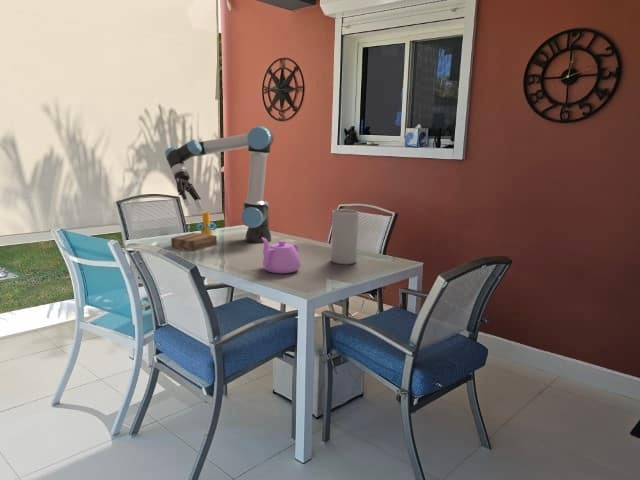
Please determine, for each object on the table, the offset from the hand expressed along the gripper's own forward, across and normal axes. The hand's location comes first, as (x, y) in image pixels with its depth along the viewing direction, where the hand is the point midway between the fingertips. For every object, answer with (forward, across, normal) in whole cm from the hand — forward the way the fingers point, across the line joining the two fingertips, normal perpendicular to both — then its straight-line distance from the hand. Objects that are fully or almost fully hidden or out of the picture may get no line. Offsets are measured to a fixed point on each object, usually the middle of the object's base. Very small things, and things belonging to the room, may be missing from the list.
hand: (194, 207), depth 258 cm
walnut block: (+14, -12, -13) cm, 23 cm away
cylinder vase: (+61, -8, +57) cm, 84 cm away
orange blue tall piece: (+5, -33, -13) cm, 36 cm away
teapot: (+55, +15, +31) cm, 65 cm away
